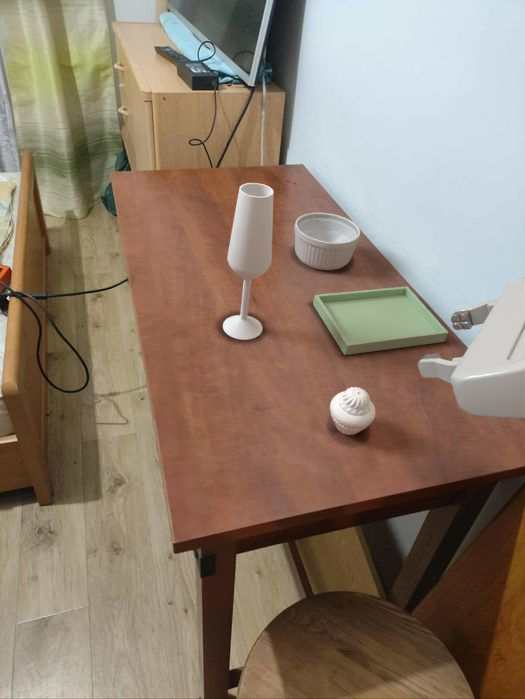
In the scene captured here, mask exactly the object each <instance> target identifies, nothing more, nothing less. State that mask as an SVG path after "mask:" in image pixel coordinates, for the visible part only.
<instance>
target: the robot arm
mask: <svg viewBox="0 0 525 699" xmlns="http://www.w3.org/2000/svg"><path fill="white" fill-rule="evenodd" d="M450 321H451V323H452V329H454V330H455V331H462V330H463V331H464V330H465V331H466V330H471V329H472V328H473V327H474V326H478V325H481V326H480V328H479V330H478V332H476V335H475V336H474V337H473V340H472V341H471V343H470V344H469V346H468V347H467V349H466V351H465V352H464V354H463V356H460V357H453V358H452V360H449V359H444V358H442V356H441V353H432V354H431V353H426V354H424V355H423V356H422V357H421V358H420V360H419V362H418V363H417V368H418V371H419V374H420V376H421V377H422V378H425V379H439V380H442V381H444V382H446V383H448V384H450V385H451V388H452V390H453V391H452V392H453V394H454V397H455V401H456V403H457V406H458V408H460V410H462V411H463V412H464V413H466V414H468V415H471V416H475V417H484V418H498V419H499V418H500V419H501V418H502V419H525V277H520V278H517V279H515V280H512V281H509V282H508V283H507V284H506V285H505V288H504V289H503V290H502V293H501V294H500V296H499V297H498V298H497V299H490V300H486V301H484V302H482V303H479V304H477V305H474V306H471V307H467V308H458V309H455V310H454V313H453V314H452V315H451V316H450Z"/></svg>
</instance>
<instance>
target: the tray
mask: <svg viewBox="0 0 525 699" xmlns="http://www.w3.org/2000/svg"><path fill="white" fill-rule="evenodd" d="M312 306H313V307H314V309H315V310H316V312H317V313H318V315H319V317H320V318H321V320H322V322H323V323H324V325H325V326H326V328H327V329H328V331H329V332H330V334H331V336H332V337H333V339H334V340H335V342H336V344H337V345H338V347H339V349H340V351H341V352H342V353H343V355H344V356H349V355H356V354H364V353H371V352H377V351H385V350H393V349H400V348H409V347H414V346H415V347H416V346H424V345H430V344H431V345H432V344H439V343H445V342H446V340H447V337H448V335H449V331H448V330H447V328H445V327H444V325H443V324H442V323H441V322H440V320H438V319H437V318H436V316H435V315H434V314H433V313H432V312H431V311H430V310H429V309H428V307H427V306H426V305H425V304H424V303H423V302H422V301H421V300H420V298H419V297H418V296H417V295H416V294H415V293H414V292H413V291H412V289H411V288H410V287H409V286H408V285H407V286H397V287H395V286H394V287H386V288H376V289H375V288H374V289H373V288H372V289H365V290H354V291H344V292H343V291H342V292H333V293H319V294H315V295H314V298H313V302H312Z"/></svg>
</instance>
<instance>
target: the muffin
mask: <svg viewBox="0 0 525 699" xmlns="http://www.w3.org/2000/svg"><path fill="white" fill-rule="evenodd" d="M329 410H330V416H331V419H332V422H333V424H334V426H335V428H336V429H337V430H338V431H339V432H340V433H342V434H343V435H346V436H354V435H356V434H358V433H361V431H363V430H365V429H367V428H368V427H369V426H370V425H371V424H372V423H373V421H374V420H375V418H376V408H375V405H374V404H373V402H372V401H371V397H370V395H369V393H368V392H367V391H366V390H365V389H364V388H361V387H357V386H354V387H353V386H351V387H350V388H349V387H348V388H346V390H344V391H340V392H339V393H337V394H336V395H334V396H333V398H332V399H331V401H330V403H329Z"/></svg>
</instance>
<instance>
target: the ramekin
mask: <svg viewBox="0 0 525 699" xmlns="http://www.w3.org/2000/svg"><path fill="white" fill-rule="evenodd" d="M293 230H294V250H295V251H294V252H295V255H296V256H297V258H298V260H299V261H300V262H301V263H303V264H304V265H306V266H307V267H309V268H312V269H315V270H320V271H336V270H340V269H342V268H344V267H345V266H346V265H348V264H349V263H350V261H351V260H352V257H353V255H354V252H355V249H356V246H357V244H358V243H359V241H360V238H361V228H360V227H359V226H358V225H357V224H356V223H355V222H354V221H352V220H351V219H349V218H347V217H344V216H341V215H338V214H334V213H328V212H310V213H305V214H303V215H300V216H299V217H297V218H296V221H295V223H294V229H293Z"/></svg>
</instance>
